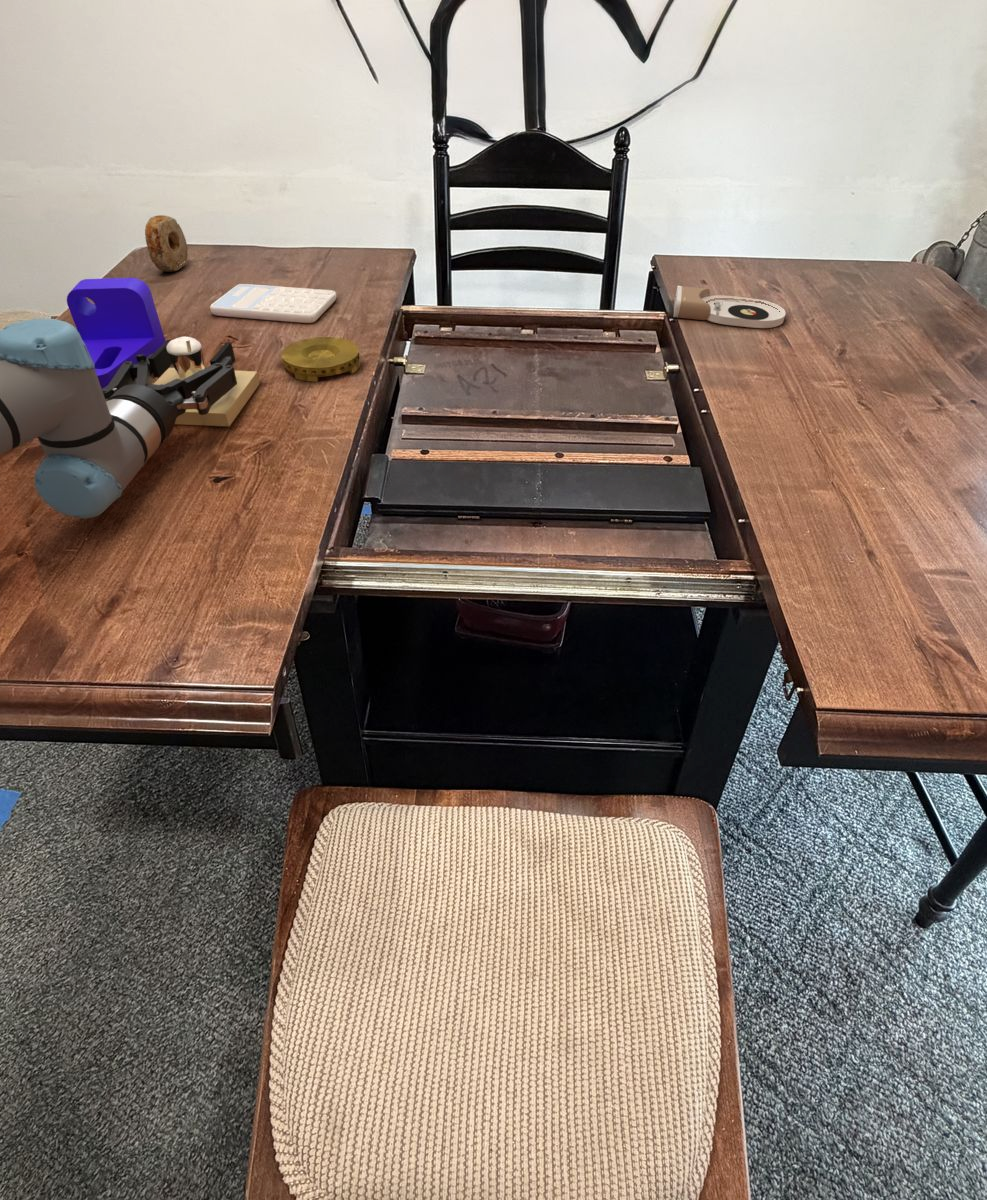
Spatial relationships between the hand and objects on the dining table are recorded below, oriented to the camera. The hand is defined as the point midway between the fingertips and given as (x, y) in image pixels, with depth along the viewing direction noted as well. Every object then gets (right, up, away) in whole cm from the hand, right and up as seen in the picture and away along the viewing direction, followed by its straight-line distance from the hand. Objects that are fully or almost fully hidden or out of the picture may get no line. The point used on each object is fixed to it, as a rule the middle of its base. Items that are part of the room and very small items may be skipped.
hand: (201, 350), depth 103 cm
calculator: (+2, +18, +29) cm, 34 cm away
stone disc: (-24, +32, +44) cm, 60 cm away
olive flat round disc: (+15, +1, +11) cm, 18 cm away
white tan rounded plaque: (+86, +17, +30) cm, 93 cm away
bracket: (-15, -2, +6) cm, 16 cm away
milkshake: (0, -8, 0) cm, 8 cm away
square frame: (0, -7, 0) cm, 8 cm away
